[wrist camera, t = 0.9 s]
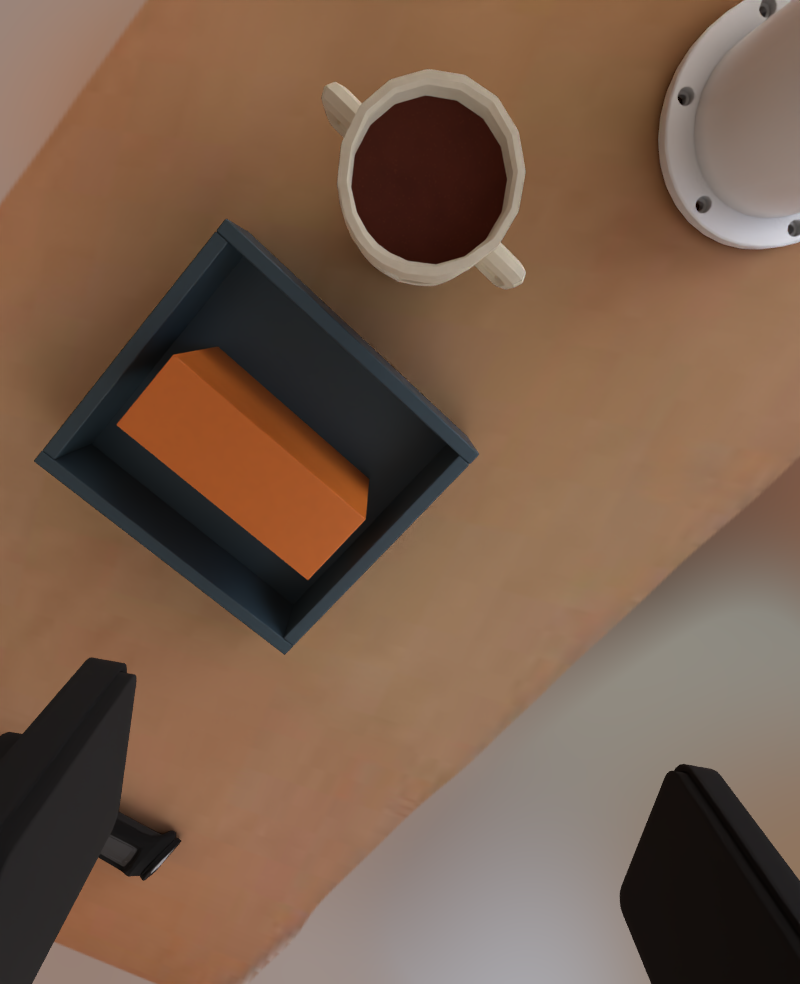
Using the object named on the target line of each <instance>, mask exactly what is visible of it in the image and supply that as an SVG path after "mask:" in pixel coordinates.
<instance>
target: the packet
mask: <svg viewBox="0 0 800 984" xmlns="http://www.w3.org/2000/svg"><path fill="white" fill-rule="evenodd" d="M117 426H118V427H120V428H121V429H122V430H123V431H124V432H126V433H127V434H128V435H129V436H131V437H132V438H133V439H134V440H136V441H137V442H138V443H139V444H141V445H142V446H143V447H144V448H145V449H147V450H148V451H149V452H150V453H152V454H153V455H154V456H155V457H157V458H158V459H159V460H160V461H161V462H163V463H164V464H165V465H166V466H168V467H169V468H170V469H171V470H173V471H174V472H175V473H176V474H177V475H179V476H180V477H181V478H182V479H184V480H185V481H186V482H187V483H189V484H190V485H191V486H192V487H194V488H195V489H196V490H197V491H198V492H200V493H201V494H202V495H203V496H205V497H206V498H207V499H208V500H210V501H211V502H212V503H213V504H214V505H216V506H217V507H218V508H219V509H221V510H222V511H223V512H224V513H226V514H227V515H228V516H229V517H231V518H232V519H233V520H234V521H235V522H237V523H238V524H239V525H240V526H242V527H243V528H244V529H245V530H247V531H248V532H249V533H250V534H251V535H253V536H254V537H255V538H256V539H258V540H259V541H260V542H261V543H263V544H264V545H265V546H266V547H267V548H269V549H270V550H271V551H272V552H274V553H275V554H276V555H277V556H279V557H280V558H281V559H282V560H284V561H285V562H286V563H287V564H288V565H290V566H291V567H292V568H293V569H295V570H296V571H297V572H298V573H300V574H301V575H302V576H303V577H304V578H306V579H307V580H309V579H310V578H311V577H312V576H313V574H314V573H315V572H316V571H317V570H318V569H319V568H320V567H321V566H322V565H323V564H324V563H325V562H326V561H327V560H328V559H329V558H330V557H331V556H332V554H333V553H334V552H335V551H336V550H337V549H338V548H339V547H340V546H341V545H342V544H343V543H344V542H345V541H346V540H347V539H348V538H349V537H350V536H351V535H352V533H353V532H354V531H355V530H356V529H357V528H358V527H359V526H360V525H361V524H362V523H363V522H364V521H365V519H366V510H367V499H368V489H369V478H367V477H366V476H365V475H364V474H363V473H362V472H361V471H359V470H358V469H357V468H356V467H355V466H354V465H353V464H351V463H350V462H349V461H348V460H347V459H346V458H345V457H343V456H342V455H341V454H340V453H339V452H338V451H337V450H336V449H334V448H333V447H332V446H331V445H330V444H329V443H328V442H326V441H325V440H324V439H323V438H322V437H321V436H320V435H318V434H317V433H316V432H315V431H314V430H313V429H312V428H310V427H309V426H308V425H307V424H306V423H305V422H304V421H302V420H301V419H300V418H299V417H298V416H297V415H296V414H294V413H293V412H292V411H291V410H290V409H289V408H288V407H286V406H285V405H284V404H283V403H282V402H281V401H280V400H278V399H277V398H276V397H275V396H274V395H273V394H272V393H270V392H269V391H268V390H267V389H266V388H265V387H264V386H262V385H261V384H260V383H259V382H258V381H257V380H256V379H255V378H253V377H252V376H251V375H250V374H249V373H248V372H247V371H245V370H244V369H243V368H242V367H241V366H240V365H239V364H237V363H236V362H235V361H234V360H233V359H232V358H231V357H229V356H228V355H227V354H226V353H225V352H224V351H223V350H221V349H220V348H219V347H212V348H207V349H201V350H196V351H191V352H185V353H180V354H174V355H172V357H171V358H170V359H169V360H168V362H167V363H166V364H165V365H164V367H163V368H162V369H161V370H160V371H159V373H158V374H157V375H156V376H155V378H154V379H153V380H152V381H151V383H150V384H149V385H148V386H147V387H146V389H145V390H144V391H143V392H142V394H141V395H140V396H139V397H138V399H137V400H136V401H135V402H134V403H133V405H132V406H131V407H130V408H129V410H128V411H127V412H126V413H125V415H124V416H123V417H122V418H121V419H120V421H119V422H118V423H117Z"/></svg>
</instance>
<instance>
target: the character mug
mask: <svg viewBox="0 0 800 984" xmlns="http://www.w3.org/2000/svg"><path fill="white" fill-rule="evenodd" d="M321 99H322V102H323V106H324V109H325V112H326V115H327V118H328V120H329V122H330V124H331V125H332V126H333V127H334V128H335V130H336V131H337V132H338V133H339V134H340V135H341V136H343V137H344V139H343V141H342V144H341V150H340V159H339V169H338V179H337V188H338V193H339V202H340V206H341V209H342V213H343V217H344V220H345V224H346V226H347V228H348V229H349V232H350V235H351V238H352V239H353V241H354V242H355V243H356V245H357V246H358V248H359V250H360V251H361V253H362V254H363V255H364V256H365V258H366V259H367V260H368V261H369V262H370V263H371V264H372V265H373V266H374V267H375V268H377V269H378V270H379V271H381V272H382V273H384V274H385V275H387V276H389V277H391V278H393V279H394V280H396V281H398V282H402V283H407V284H412V285H417V286H436V285H439V284H442V283H445V282H447V281H449V280H451V279H453V278H455V277H457V276H458V275H460V274H461V273H463V272H465V271H467V270H469V269H470V268H471V267H473V266H475V267H477V268H478V269H479V270H480V271H481V272H482V273H483V274H484V275H485V276H486V277H487V278H488V279H489V280H490V281H491V282H492V283H493V284H494V285H495V286H497V287H500V288H503V289H510V288H514V287H516V286H518V285H520V284H522V283H523V280H524V277H525V275H526V273H525V270H524V268H523V266H522V264H521V263H520V261H519V260H518V259H517V258H516V257H515V256H514V255H513V254H512V253H511V252H510V251H509V250H508V249H507V248H506V247H505V246H504V245H503V244H502V243H501V241H502V239H503V237H504V236H505V234H506V232H507V230H508V229H509V227H510V225H511V224H512V222H513V220H514V218H515V217H516V215H517V213H518V212H519V207H520V201H521V195H522V190H523V184H524V178H525V173H526V170H525V165H524V159H523V153H522V148H521V142H520V136H519V131H518V129H517V128H516V126H515V125H514V123H513V121H512V120H511V118H510V116H509V115H508V113H507V112H506V110H505V108H504V107H503V105H502V103H501V102H500V100H499V98H498V97H497V96H495V95H494V94H493V93H491V92H490V91H488V90H487V89H485V88H484V87H482V86H481V85H479V84H478V83H476V82H475V81H473V80H472V79H471V78H469V77H468V76H466V75H463V74H456V73H450V72H444V71H437V70H431V69H425V70H422V71H418V72H415V73H411V74H408V75H404V76H401V77H397V78H394V79H390V80H389V81H388V82H387V83H385V84H384V85H383V86H382V87H381V88H380V89H378V90H377V91H376V92H375V93H374V94H373V95H371V96H370V97H369V98H368V99H367V100H365V101H364V102H363V103H361V102H360V101H359V100H358V99H357V98H356V97H355V96H354V95H353V94H352V93H351V92H350V91H349V90H348V89H346V88H345V87H344V86H342V85H340V84H339V83H337V82H333V83H330V84H328V85H326V86H325V87H324V89H323V93H322V97H321Z"/></svg>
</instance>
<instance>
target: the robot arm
mask: <svg viewBox="0 0 800 984" xmlns="http://www.w3.org/2000/svg"><path fill="white" fill-rule="evenodd" d="M760 12H761V14H762V15H761V14H760ZM678 97H680V98H682V101H683V102H682V105H681V104H680V103H679V101H678ZM658 145H659V157H660V166H661V170H662V173H663V177H664V181H665V184H666V187H667V189H668V191H669V193H670V195H671V197H672V199H673V201H674V203H675V205H676V207H677V208H678V209H679V211H680V212H681V213H682V214H683V216H684V217H685V218H686V220H687V221H688V222H689V223H690V224H691V225H693V226H694V227H695V228H696V229H697V230H699V231H700V232H701V233H702V234H703V235H705V236H707V237H709V238H711V239H713V240H715V241H717V242H719V243H721V244H724V245H728V246H732V247H736V248H740V249H759V250H762V249H768V248H776V247H782V246H786V245H790V244H794V243H798V242H800V0H744V1H742V2H741V3H739V4H738V5H736V6H735V7H733V8H731V9H730V10H728V11H727V12H725V13H724V14H723V15H722V16H721V17H720V18H719V19H717V20H716V21H715V22H714V23H713V24H712V25H710V26H709V27H708V28H707V29H706V30H705V32H704V33H703V34H702V35H701V36H700V37H699V38H698V39H697V40H696V41H695V43H694V44H693V45H692V46H691V47H690V49H689V50H688V52H687V53H686V55H685V57H684V58H683V60H682V61H681V63H680V64H679V66H678V67H677V69H676V71H675V74H674V76H673V78H672V81H671V83H670V85H669V88H668V90H667V92H666V96H665V100H664V104H663V108H662V112H661V116H660V125H659V137H658ZM696 202H697V203H699V206H700V207H699V210H698V211H697V209H696ZM788 228H789V232H788V231H787V230H788ZM135 688H136V675H134V674H128V673H127V667H126V664H125V663H119V662H114V661H108V660H103V659H97V658H89V659H87V660H86V661H85V662H84V664H83V665H82V666H81V667H80V668H79V669H78V670H77V672H76V673H75V674H74V675H73V676H72V677H71V679H70V680H69V681H68V682H67V683H66V684H65V686H64V687H63V688H62V689H61V690H60V691H59V692H58V694H57V695H56V696H55V697H54V698H53V699H52V701H51V702H50V703H49V704H48V705H47V706H46V708H45V709H44V710H43V711H42V712H41V713H40V714H39V716H38V717H37V718H36V719H35V720H34V721H33V723H32V724H31V725H30V726H29V727H28V728H27V730H26V731H25V732H24V733H23V734H19V733H13V732H7V733H5V734H2V735H1V736H0V984H32V983H33V981H34V979H35V977H36V975H37V973H38V971H39V969H40V967H41V965H42V963H43V962H44V960H45V958H46V956H47V954H48V952H49V950H50V948H51V946H52V944H53V942H54V941H55V939H56V937H57V935H58V933H59V931H60V929H61V927H62V925H63V923H64V922H65V920H66V918H67V916H68V914H69V912H70V910H71V908H72V906H73V904H74V902H75V901H76V899H77V897H78V895H79V893H80V891H81V889H82V887H83V885H84V883H85V881H86V880H87V878H88V876H89V874H90V872H91V870H92V868H93V866H94V864H95V862H96V860H97V859H98V857H99V855H100V853H101V851H102V849H103V847H104V845H105V843H106V841H107V839H108V838H109V836H110V834H111V832H112V829H113V827H114V824H115V822H116V818H117V815H118V811H119V806H120V799H121V792H122V784H123V777H124V770H125V762H126V755H127V747H128V740H129V733H130V725H131V718H132V710H133V703H134V696H135ZM620 905H621V910H622V913H623V916H624V918H625V921H626V923H627V926H628V928H629V930H630V932H631V935H632V938H633V940H634V943H635V945H636V947H637V950H638V952H639V955H640V957H641V960H642V962H643V964H644V967H645V969H646V972H647V974H648V976H649V979H650V981H651V984H800V881H799V879H798V878H797V877H796V875H795V874H794V873H793V871H792V870H791V869H790V867H789V866H788V865H787V863H786V862H785V861H784V859H783V858H782V857H781V855H780V854H779V853H778V851H777V850H776V849H775V847H774V846H773V845H772V843H771V842H770V841H769V839H768V838H767V837H766V835H765V834H764V833H763V831H762V830H761V829H760V827H759V826H758V825H757V823H756V822H755V821H754V819H753V818H752V817H751V815H750V814H749V813H748V811H747V810H746V809H745V807H744V806H743V805H742V803H741V802H740V801H739V799H738V798H737V797H736V795H735V794H734V793H733V791H732V790H731V789H730V787H729V786H728V785H727V783H726V782H725V781H724V779H723V778H722V777H721V776H720V774H718V772H716V771H715V770H712V769H708V768H703V767H697V766H692V765H686V764H682V765H679V766H678V767H677V768H676V769H675V770H674V771H669V772H668V773H667V774H666V776H665V778H664V781H663V783H662V786H661V788H660V791H659V794H658V796H657V798H656V801H655V803H654V806H653V808H652V811H651V814H650V816H649V818H648V821H647V823H646V826H645V828H644V831H643V833H642V836H641V838H640V841H639V843H638V846H637V848H636V851H635V854H634V856H633V858H632V861H631V864H630V866H629V869H628V871H627V874H626V876H625V879H624V881H623V884H622V886H621V890H620Z"/></svg>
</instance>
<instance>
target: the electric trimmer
mask: <svg viewBox="0 0 800 984" xmlns="http://www.w3.org/2000/svg"><path fill="white" fill-rule="evenodd" d="M175 838H176V832H174V831H169V832H167V833H165V834H162V835H161V834H160V833H157V832H155V831H153V830H152V829H150V828H148V827H146V826H144V825H142V824H140V823H139V822H137V821H135V820H133V819H131V818H129V817H127V816H126V815H124V814H122V813H120V812H118V815H117V818H116V822H115V824H114V827H113V829H112V832H111V834H110V836H109V838H108V839H107V841H106V843H105V845H104V847H103V849H102V851H101V853H100V855H99V858H100V859H102V860H104V861H106V862H107V863H109V864H111V865H112V866H114V867H116V868H117V869H119V870H121V871H122V872H123V873H124V874H125V875H127V876H140V877H141V879H142V880H143V881H144V880H146V879H147V878H148V877H150V876H151V875H152V874H153V873H154V872H155V871H156V870H157V869H158V868H159V867H160V866H161V864H162V863H163V862H164V861H165V860H166V859H167V857H168V856H169V855H170V854H171V853H172V852H173V850H174V849H175V848H176V847H177V846H178V845H179V843H180V842H181V840H180V839H178V838H176V839H175Z"/></svg>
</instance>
